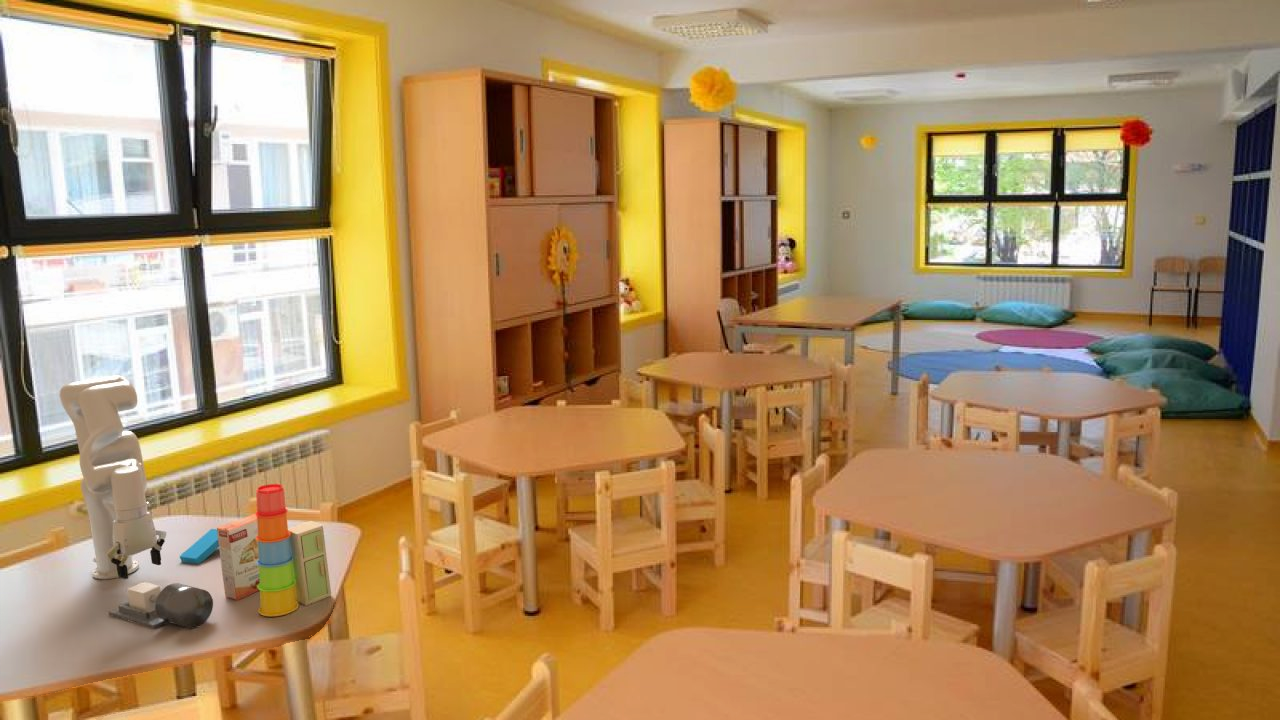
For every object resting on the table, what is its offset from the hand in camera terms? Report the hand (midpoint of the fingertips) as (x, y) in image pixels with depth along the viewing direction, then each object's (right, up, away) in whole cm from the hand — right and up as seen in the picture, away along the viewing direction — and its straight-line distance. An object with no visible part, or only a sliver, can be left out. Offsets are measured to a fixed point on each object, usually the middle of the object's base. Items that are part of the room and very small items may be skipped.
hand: (140, 571), depth 265 cm
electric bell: (+7, -12, -2) cm, 14 cm away
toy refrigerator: (+46, -9, +5) cm, 47 cm away
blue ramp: (0, -4, +43) cm, 44 cm away
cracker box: (+26, -8, +13) cm, 30 cm away
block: (+1, -10, +2) cm, 11 cm away
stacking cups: (+38, -10, -1) cm, 40 cm away
